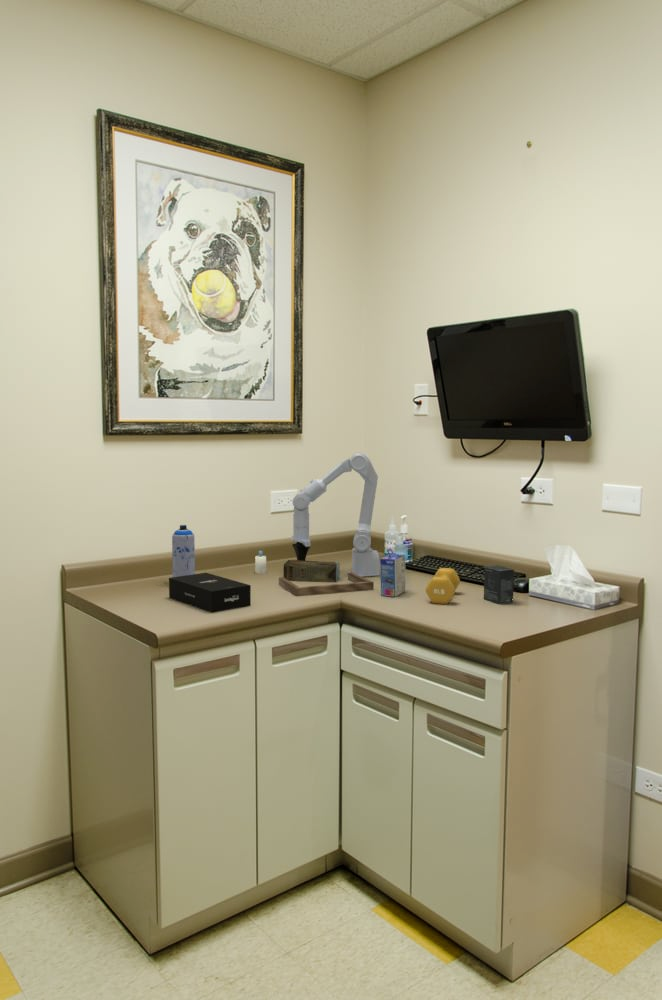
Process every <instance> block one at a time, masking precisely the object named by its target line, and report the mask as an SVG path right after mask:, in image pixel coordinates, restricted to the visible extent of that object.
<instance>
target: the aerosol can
mask: <svg viewBox="0 0 662 1000" xmlns="http://www.w3.org/2000/svg"><path fill="white" fill-rule="evenodd" d="M171 546H172V549H171V550H172V551H171V552H172V553H171V554H172V555H171V557H172V577H179V576H186V575H193V574H196V566H195V565H196V563H195V562H196V559H195V534H194V532H193V531H192V530H190V529H189V528H188V527H187V524H181V525H179V528H178V529H177V530H175V531H174V533H173V534H172V536H171Z"/></svg>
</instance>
